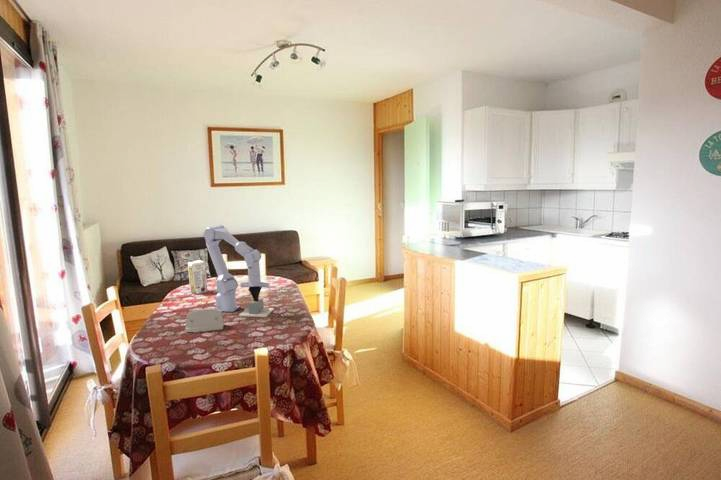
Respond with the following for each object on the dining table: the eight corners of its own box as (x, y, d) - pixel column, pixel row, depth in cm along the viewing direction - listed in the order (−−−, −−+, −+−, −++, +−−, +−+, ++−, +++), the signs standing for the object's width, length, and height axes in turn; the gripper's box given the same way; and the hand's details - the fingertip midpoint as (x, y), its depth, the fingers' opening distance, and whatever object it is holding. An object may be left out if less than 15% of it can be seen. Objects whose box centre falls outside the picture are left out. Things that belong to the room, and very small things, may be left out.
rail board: (239, 316, 202) (238, 311, 201) (248, 308, 212) (248, 304, 212) (265, 317, 199) (265, 312, 199) (274, 309, 210) (273, 305, 210)
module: (248, 313, 202) (248, 303, 201) (254, 309, 209) (253, 298, 208) (258, 314, 201) (257, 303, 200) (263, 309, 208) (263, 299, 207)
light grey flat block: (184, 333, 181) (183, 310, 183) (186, 333, 186) (185, 311, 188) (223, 329, 185) (222, 306, 187) (224, 328, 190) (223, 307, 192)
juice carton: (209, 291, 247) (206, 260, 244) (196, 295, 240) (193, 263, 237) (201, 289, 251) (198, 259, 248) (189, 293, 244) (185, 262, 241)
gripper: (236, 276, 200) (239, 303, 202) (264, 276, 197) (266, 303, 200) (243, 273, 207) (245, 298, 209) (270, 273, 204) (272, 299, 206)
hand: (256, 300), depth 205 cm, fingers closed, pressing on module
